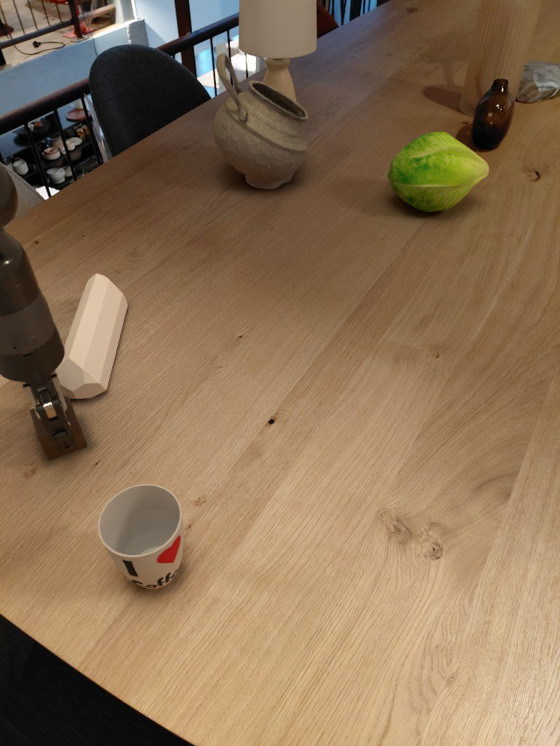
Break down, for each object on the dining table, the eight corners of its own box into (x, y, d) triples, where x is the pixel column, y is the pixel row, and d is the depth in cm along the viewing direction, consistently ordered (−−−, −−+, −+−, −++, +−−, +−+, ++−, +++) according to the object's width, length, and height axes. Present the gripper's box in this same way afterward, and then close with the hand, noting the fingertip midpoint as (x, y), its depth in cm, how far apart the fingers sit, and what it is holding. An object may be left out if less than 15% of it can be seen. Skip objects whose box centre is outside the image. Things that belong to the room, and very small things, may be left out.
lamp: (314, 118, 155) (322, -50, 129) (310, 146, 142) (318, -34, 116) (247, 115, 156) (241, -52, 130) (236, 142, 143) (228, -36, 117)
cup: (125, 614, 59) (105, 569, 52) (111, 547, 64) (91, 498, 57) (201, 586, 61) (191, 539, 54) (181, 523, 66) (170, 473, 59)
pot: (200, 189, 125) (187, 65, 107) (240, 153, 139) (235, 37, 121) (286, 208, 119) (288, 80, 102) (320, 168, 133) (326, 49, 115)
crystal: (69, 282, 93) (29, 387, 76) (102, 263, 91) (68, 367, 74) (100, 312, 98) (69, 417, 81) (133, 295, 96) (107, 399, 79)
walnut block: (48, 461, 73) (37, 436, 69) (40, 434, 76) (29, 409, 72) (87, 446, 74) (78, 421, 71) (78, 420, 77) (68, 396, 74)
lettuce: (489, 221, 117) (501, 166, 105) (390, 231, 119) (391, 179, 108) (477, 172, 124) (487, 117, 113) (384, 183, 127) (384, 130, 115)
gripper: (-27, 303, 65) (19, 399, 76) (-8, 382, 56) (42, 477, 67) (40, 284, 67) (75, 380, 79) (69, 357, 58) (104, 453, 70)
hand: (59, 424), depth 73 cm, fingers open, 8 cm apart
